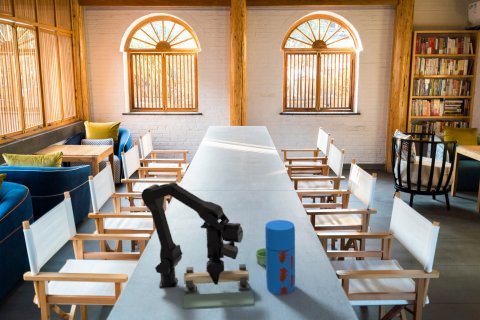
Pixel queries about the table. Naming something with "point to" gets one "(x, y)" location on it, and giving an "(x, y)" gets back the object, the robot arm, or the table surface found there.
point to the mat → (218, 299)
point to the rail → (223, 277)
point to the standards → (192, 287)
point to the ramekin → (261, 256)
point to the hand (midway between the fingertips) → (216, 278)
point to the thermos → (280, 256)
